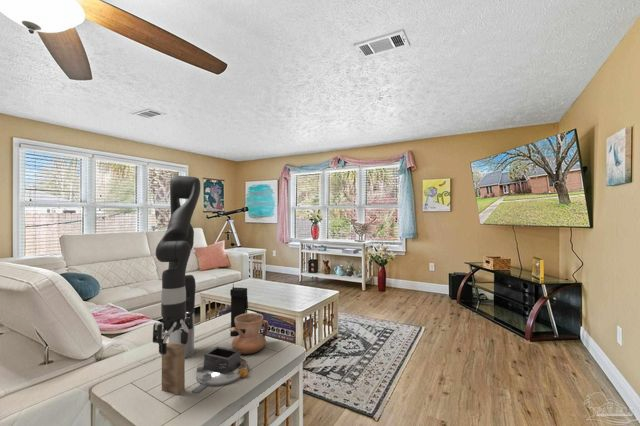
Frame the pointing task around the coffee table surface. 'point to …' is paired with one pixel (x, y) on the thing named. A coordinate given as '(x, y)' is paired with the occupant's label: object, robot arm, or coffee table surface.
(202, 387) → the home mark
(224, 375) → the grey disc
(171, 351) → the brown wooden block
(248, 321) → the ceramic jug
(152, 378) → the coffee table surface
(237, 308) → the portable radio
